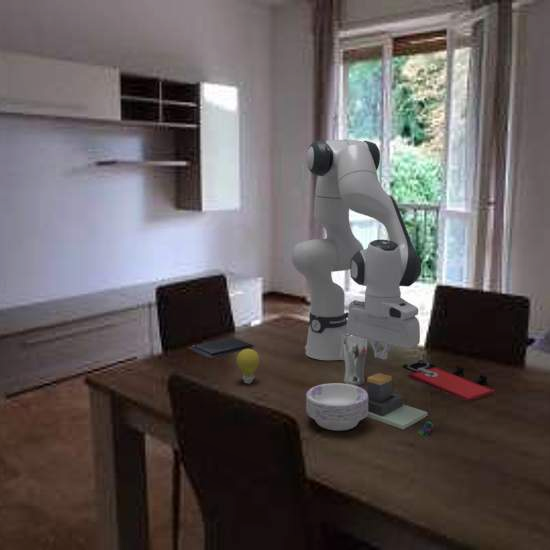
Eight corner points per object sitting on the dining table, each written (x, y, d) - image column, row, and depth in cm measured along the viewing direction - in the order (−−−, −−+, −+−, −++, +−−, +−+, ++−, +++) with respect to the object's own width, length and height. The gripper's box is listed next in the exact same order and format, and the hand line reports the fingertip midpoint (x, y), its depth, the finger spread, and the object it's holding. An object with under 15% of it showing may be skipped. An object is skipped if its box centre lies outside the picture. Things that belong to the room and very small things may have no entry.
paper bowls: (305, 410, 155) (305, 381, 154) (364, 411, 155) (364, 381, 153) (306, 436, 140) (306, 404, 139) (371, 437, 140) (372, 405, 139)
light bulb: (256, 386, 171) (256, 353, 170) (234, 385, 173) (233, 352, 171) (261, 378, 178) (261, 346, 176) (240, 377, 179) (239, 345, 177)
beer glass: (339, 384, 174) (340, 334, 171) (345, 376, 180) (346, 328, 177) (363, 387, 171) (364, 336, 168) (368, 379, 178) (369, 330, 175)
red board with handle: (425, 361, 193) (390, 371, 186) (425, 353, 193) (391, 362, 185) (504, 392, 169) (468, 404, 161) (504, 383, 168) (468, 394, 160)
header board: (357, 392, 167) (357, 381, 166) (427, 416, 152) (428, 403, 151) (332, 404, 159) (332, 391, 158) (403, 429, 144) (404, 416, 143)
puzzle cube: (421, 428, 146) (422, 419, 145) (433, 431, 144) (433, 422, 144) (415, 434, 142) (415, 425, 142) (426, 437, 141) (427, 428, 140)
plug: (377, 401, 158) (378, 372, 157) (390, 405, 156) (391, 376, 154) (366, 406, 155) (367, 377, 153) (379, 411, 152) (380, 381, 151)
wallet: (208, 355, 196) (185, 344, 207) (208, 360, 196) (185, 349, 208) (257, 344, 208) (233, 334, 219) (257, 349, 208) (233, 339, 220)
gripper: (341, 300, 155) (340, 352, 158) (410, 314, 141) (408, 370, 144) (356, 297, 160) (355, 346, 162) (424, 309, 145) (422, 364, 148)
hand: (380, 358), depth 153 cm, fingers closed
